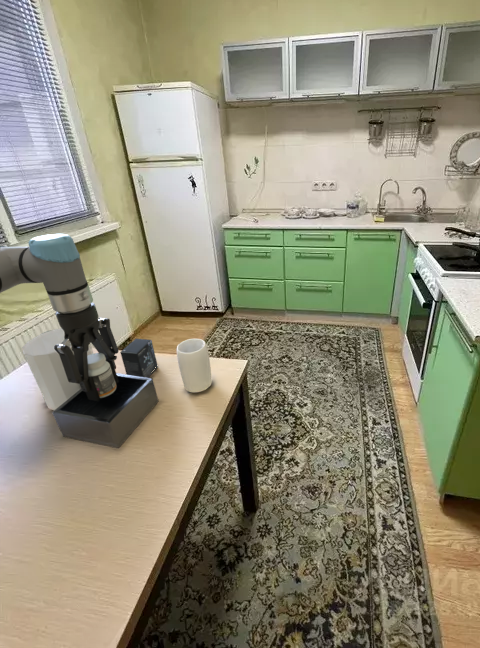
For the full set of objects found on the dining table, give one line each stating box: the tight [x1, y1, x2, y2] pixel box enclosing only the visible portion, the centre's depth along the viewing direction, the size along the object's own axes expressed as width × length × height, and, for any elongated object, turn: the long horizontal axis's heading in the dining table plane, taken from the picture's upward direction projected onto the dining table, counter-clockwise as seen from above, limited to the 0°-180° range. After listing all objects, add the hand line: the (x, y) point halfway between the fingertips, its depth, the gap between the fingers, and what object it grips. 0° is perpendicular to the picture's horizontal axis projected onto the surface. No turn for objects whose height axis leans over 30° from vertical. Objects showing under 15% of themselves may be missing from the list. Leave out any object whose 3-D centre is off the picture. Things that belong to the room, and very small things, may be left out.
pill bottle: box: [87, 352, 116, 398], centre depth 78 cm, size 6×6×10 cm
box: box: [120, 338, 159, 378], centre depth 99 cm, size 8×6×11 cm
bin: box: [51, 372, 159, 449], centre depth 83 cm, size 16×16×8 cm
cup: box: [176, 338, 213, 393], centre depth 92 cm, size 8×8×14 cm
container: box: [21, 327, 94, 411], centre depth 90 cm, size 14×14×18 cm
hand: (104, 390), depth 80 cm, fingers closed on pill bottle, 6 cm apart
